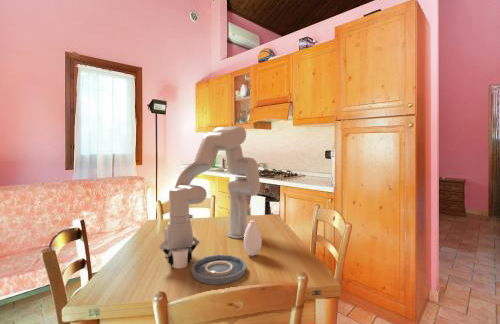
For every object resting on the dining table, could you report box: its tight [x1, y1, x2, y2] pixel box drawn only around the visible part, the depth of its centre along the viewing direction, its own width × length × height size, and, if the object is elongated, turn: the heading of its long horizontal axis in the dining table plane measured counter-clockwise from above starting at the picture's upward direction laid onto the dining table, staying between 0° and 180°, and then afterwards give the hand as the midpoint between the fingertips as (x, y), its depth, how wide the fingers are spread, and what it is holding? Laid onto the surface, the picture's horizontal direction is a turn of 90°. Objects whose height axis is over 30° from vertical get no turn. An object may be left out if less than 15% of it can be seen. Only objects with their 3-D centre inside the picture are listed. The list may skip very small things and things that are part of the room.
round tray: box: [191, 254, 247, 286], centre depth 103 cm, size 20×20×2 cm
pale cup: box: [172, 247, 188, 269], centre depth 108 cm, size 7×7×7 cm
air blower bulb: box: [243, 215, 263, 257], centre depth 118 cm, size 8×8×18 cm
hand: (180, 262), depth 108 cm, fingers closed on pale cup, 6 cm apart
